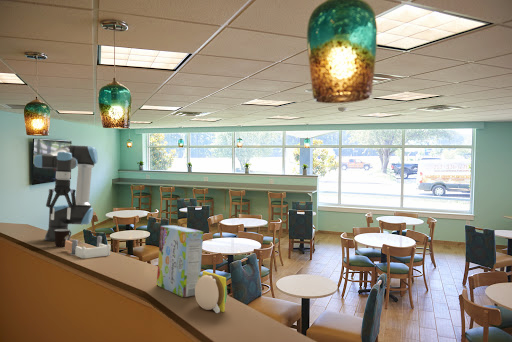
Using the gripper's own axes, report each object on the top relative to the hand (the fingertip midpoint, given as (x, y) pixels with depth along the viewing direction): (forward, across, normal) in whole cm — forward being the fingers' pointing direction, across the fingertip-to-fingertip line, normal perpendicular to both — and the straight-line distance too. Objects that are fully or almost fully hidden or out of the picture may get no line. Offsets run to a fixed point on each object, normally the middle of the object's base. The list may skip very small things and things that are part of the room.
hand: (60, 219), depth 210 cm
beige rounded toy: (+19, +9, -121) cm, 122 cm away
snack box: (+19, +13, -96) cm, 99 cm away
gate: (+18, +6, -2) cm, 19 cm away
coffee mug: (+19, +10, +20) cm, 29 cm away
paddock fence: (+19, +12, -12) cm, 26 cm away
